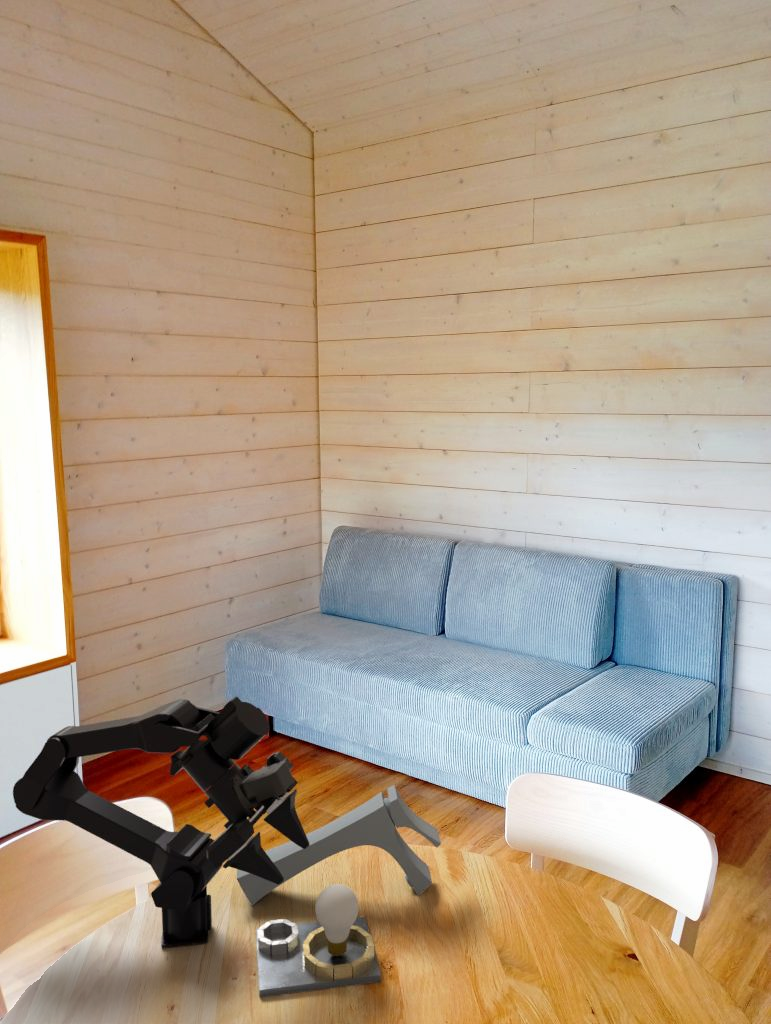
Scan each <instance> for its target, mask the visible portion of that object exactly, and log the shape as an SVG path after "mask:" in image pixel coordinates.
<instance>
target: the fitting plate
mask: <svg viewBox="0 0 771 1024" xmlns="http://www.w3.org/2000/svg"><path fill="white" fill-rule="evenodd" d="M255 942H256V943H255V944H256V945H255V946H256V960H257V961H256V962H257V976H258V978H257V979H258V993H259V994H258V995H259V998H265V997H271V996H272V997H273V996H280V995H288V994H297V993H303V992H310V991H311V992H312V991H320V990H326V989H328V990H329V989H334V988H340V987H341V988H342V987H350V986H356V985H357V986H359V985H367V984H374V983H375V984H376V983H381V982H382V981H381V979H382V974H381V971H380V968H379V964H378V959H377V957H376V952H375V944H374V941H373V937H372V935H371V934H370V930H369V927H368V922H367V919H366V916H364V915H363V916H357V918H356V920H355V922H354V923H353V924H352V926H351V928H350V931H349V935H348V937H347V950H346V952H345V953H344V954H342V955H340V956H338V957H336V956H333V955H331V954H330V953H329V952H328V946H327V937H326V935H325V931H324V928H323V927H322V925H321V924H320V923H319V921H313V922H312V921H311V922H303V923H295V922H292V921H290V920H289V919H285V918H281V919H271V920H269V921H266V922H265V923H263V924H262V925H261V926H260V927H258V928H255Z"/></svg>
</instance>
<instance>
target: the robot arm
mask: <svg viewBox="0 0 771 1024" xmlns="http://www.w3.org/2000/svg"><path fill="white" fill-rule="evenodd" d="M269 731H270V724H269V720H268V718H267V715H266V714H265V712H263V710H262V709H261V708H260V707H257V706H255V705H254V704H252V703H250V702H247V701H242V700H241V699H240V698H239V697H238V696H236V695H235V696H234V697H233V698H231V699H230V700H229V701H228V702H227V703H225V705H224V706H223V708H222V709H221V711H216V710H211V709H208V708H204V707H199V706H196V705H195V704H193V703H192V702H191V701H190V700H188V699H184V698H183V699H181V698H179V699H176V700H174V701H171V702H168V703H165V704H163V705H160V706H158V707H157V708H154V709H152V710H150V711H148V712H145V713H143V714H140V715H136V716H131V717H125V718H119V719H113V720H107V721H101V722H94V723H89V724H83V725H77V726H76V725H68V726H66V727H63V728H62V729H61V730H59V731H58V732H57V731H56V732H55V733H54V734H52V735H50V736H49V738H47V740H46V742H45V743H44V745H43V747H42V749H41V751H40V752H39V754H38V755H37V756H36V757H35V759H34V760H33V762H32V763H31V765H30V766H29V767H28V768H27V770H25V772H24V774H23V776H22V777H20V778H19V779H18V780H17V781H16V782H15V783H14V786H13V787H12V797H13V801H14V804H15V808H16V809H17V810H18V811H19V812H20V813H21V814H24V815H25V816H29V817H32V818H35V819H37V820H41V821H61V822H62V821H63V822H69V823H70V824H72V825H74V826H76V827H78V828H79V829H82V830H84V831H85V832H88V833H89V834H91V835H94V836H96V837H97V838H98V839H99V838H100V839H101V840H103V841H105V842H107V843H108V844H111V845H113V847H116V848H118V849H121V850H122V851H124V852H126V853H128V854H129V855H131V856H133V857H136V858H137V859H139V860H141V861H143V862H145V863H146V864H148V865H149V866H150V867H151V868H152V870H153V873H154V874H155V876H156V877H157V879H158V881H159V882H160V883H159V884H158V885H157V886H156V887H155V888H154V889H153V890H152V892H151V893H150V896H151V898H152V901H153V903H154V905H155V907H156V908H160V909H161V922H162V923H161V925H162V926H161V927H162V935H161V942H160V944H161V947H162V948H163V949H164V948H165V949H166V948H172V947H173V948H174V947H180V946H181V947H182V946H188V945H189V946H190V945H197V944H198V945H201V944H206V943H208V942H209V932H211V931H212V928H213V926H212V925H213V915H212V914H213V913H212V895H211V894H209V893H208V889H207V888H208V884H209V883H210V882H211V881H212V879H213V878H214V877H215V876H216V874H218V872H219V871H220V870H221V868H222V867H223V868H224V869H228V867H229V868H232V869H236V870H237V869H238V870H242V871H245V872H248V873H250V874H253V875H256V876H258V877H261V878H263V879H265V880H268V881H270V882H273V883H275V884H280V883H281V882H283V880H284V878H283V876H282V874H281V873H280V871H279V870H278V868H277V867H276V866H275V864H274V863H273V862H272V860H271V859H270V858H269V856H268V855H267V854H266V852H265V851H266V850H264V848H263V847H262V840H261V832H260V831H258V832H257V833H256V834H255V828H254V825H255V824H256V823H257V822H258V821H259V820H260V819H261V817H262V816H264V815H265V814H267V815H266V816H265V817H264V818H263V821H264V822H266V823H267V824H268V825H269V826H270V827H272V828H273V829H275V830H276V831H277V832H279V833H280V834H282V835H283V836H284V837H286V838H287V839H289V841H292V842H294V843H295V844H296V845H298V846H300V847H301V848H303V849H306V848H307V847H308V846H309V841H308V839H307V836H306V834H307V833H306V832H305V830H304V827H303V825H302V823H301V820H300V819H299V818H300V817H299V814H298V813H297V810H296V806H295V805H296V804H295V803H296V795H297V793H298V789H297V788H295V787H296V785H297V784H298V783H299V782H298V781H297V780H296V778H294V776H293V774H292V773H291V770H292V769H293V768H294V763H293V762H292V761H290V760H289V758H288V757H286V755H285V754H283V753H282V752H281V751H279V750H278V751H276V752H274V753H271V754H270V755H269V756H267V759H266V765H263V766H262V767H261V768H260V769H257V770H254V769H253V768H252V767H251V765H247V764H246V763H245V764H244V765H243V766H242V767H240V766H239V765H238V764H237V762H236V761H237V760H240V759H242V758H243V757H244V756H245V755H246V754H248V753H249V751H250V750H252V749H253V748H254V747H255V746H256V745H257V744H258V743H259V742H260V741H261V740H262V739H263V738H264V737H266V736H267V735H268V734H269ZM204 736H205V738H207V739H205V740H204V739H201V738H202V737H204ZM184 747H185V748H186V749H184V750H180V748H184ZM125 750H141V751H143V752H146V753H148V754H172V753H173V754H172V755H171V756H170V761H171V762H170V766H169V767H170V768H169V769H170V770H169V775H170V776H172V777H174V776H176V774H178V773H179V772H181V770H182V769H183V770H184V771H185V772H186V773H187V774H188V775H189V776H190V778H192V780H193V781H194V782H195V784H196V785H197V786H198V787H199V788H200V789H201V790H202V792H203V793H204V794H205V795H206V797H208V799H206V800H205V801H204V802H203V804H204V805H205V806H206V807H207V808H208V809H210V808H211V807H212V806H215V807H216V808H217V810H219V812H220V813H221V814H222V815H223V816H224V817H225V818H226V820H227V822H226V823H224V825H223V826H224V828H225V830H224V831H222V832H221V833H220V834H219V835H218V836H217V837H216V838H215V839H213V838H211V837H212V833H210V832H209V833H208V832H204V831H201V830H200V829H198V828H197V827H195V826H194V825H192V824H189V823H185V824H184V826H183V827H182V828H181V829H179V831H170V830H169V831H168V830H167V829H164V828H162V827H160V826H158V825H157V824H155V823H153V822H151V821H148V820H147V819H145V818H143V817H141V816H139V815H137V814H135V813H133V812H132V811H129V810H127V809H125V808H123V807H121V806H119V805H117V804H116V803H114V802H111V801H110V800H108V799H106V798H104V797H102V796H101V795H98V794H96V793H94V792H92V791H90V790H89V789H87V787H86V786H85V784H84V782H83V781H82V779H81V777H80V775H79V774H78V773H77V772H75V771H76V768H77V766H78V765H79V762H80V757H88V756H93V755H99V754H106V753H112V752H113V753H114V752H118V751H125ZM235 760H236V761H235ZM294 788H295V789H294ZM293 789H294V790H293ZM291 791H292V792H291ZM290 792H291V793H290ZM254 834H255V835H254Z"/></svg>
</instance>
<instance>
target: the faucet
mask: <svg viewBox="0 0 771 1024" xmlns="http://www.w3.org/2000/svg"><path fill="white" fill-rule="evenodd" d="M386 792H387V797H385V795H384V793H383V792H382V791H380V792H378V793H377V794H376V795H374V796H373V797H371V798H370V799H368V800H367V801H366V802H364V803H361V805H359V806H356V807H355V808H354V809H352V810H350V811H348V812H347V813H345V814H343V815H342V816H339V817H338V818H336V819H335V820H333V821H331V822H329V823H327V824H325V825H323V826H321V827H319V828H317V829H315V830H312V831H310V832H308V833H305V834H306V836H307V839H308V841H309V846H308V847H307V848H306V849H303V848H301V847H300V846H298V845H296V844H295V843H294V842H292V841H291V840H289V841H288V842H284V843H282V844H280V845H277V846H274V847H271V848H270V849H267V850H264V851H265V852H266V854H267V855H268V856H269V858H270V859H271V860H272V862H273V863H274V864H275V866H276V867H277V868H278V870H279V871H280V873H281V874H282V876H283V878H284V880H283V882H281V883H280V884H275V883H273V882H270V881H268V880H265V879H263V878H261V877H258V876H256V875H253V874H250V873H248V872H245V871H242V870H238V869H236V880H237V882H238V884H239V886H240V888H241V889H242V892H243V893H244V895H245V897H246V900H248V902H249V904H250V906H253V905H255V904H256V903H257V902H258V901H260V900H261V899H262V898H263V897H265V896H266V895H268V894H269V893H270V892H272V891H273V890H276V889H277V887H279V886H281V885H282V884H284V883H285V882H287V881H289V880H291V879H292V878H294V877H296V876H298V875H299V874H301V873H302V872H304V871H305V870H307V869H309V868H311V867H313V866H315V865H317V864H318V863H321V862H322V861H323V860H326V859H327V858H328V859H329V858H330V857H332V856H334V855H336V854H338V853H341V852H344V851H346V850H350V849H352V848H353V849H354V848H356V847H362V846H369V847H370V846H372V847H377V848H380V849H381V850H384V851H385V852H386V853H388V854H389V855H390V856H391V857H392V858H393V859H394V860H395V861H396V863H397V864H398V866H400V868H401V869H402V871H403V873H404V874H405V876H404V878H405V881H406V883H407V884H408V886H410V888H413V889H414V891H415V893H416V896H418V897H419V896H421V894H422V893H423V892H425V891H426V889H428V888H429V887H430V886H431V885H432V884H433V880H432V876H431V872H430V868H429V865H428V864H427V863H426V862H425V861H423V860H422V858H421V857H420V856H419V855H417V854H416V852H415V851H413V850H412V848H411V847H410V846H409V845H408V844H407V842H406V841H405V840H404V838H403V837H402V835H400V833H399V831H398V830H397V829H398V828H408V829H411V830H413V831H414V832H417V834H419V835H421V836H422V837H423V838H425V839H426V840H427V841H429V842H430V843H431V844H432V845H433V846H434V847H435V848H438V847H440V846H441V845H442V842H441V838H440V835H439V832H438V828H437V827H435V826H433V825H432V824H430V823H429V822H428V821H426V820H425V819H423V818H421V817H420V816H419V815H418V814H416V812H414V811H413V810H412V809H411V808H410V806H408V804H407V803H406V801H404V799H403V798H402V796H401V794H400V792H399V790H398V789H397V787H396V785H395V784H393V785H391V786H389V787H387V788H386Z"/></svg>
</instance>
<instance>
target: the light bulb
mask: <svg viewBox="0 0 771 1024" xmlns="http://www.w3.org/2000/svg"><path fill="white" fill-rule="evenodd" d="M354 892H355V891H353V890H352V889H351V888H350V887H348V886H346V885H345V884H341V883H334V884H331V885H328V886H326V887H325V888H324V889H322V890H321V892H320V893H319V894H318V896H317V899H316V901H315V905H314V906H315V909H314V910H315V915H316V919H317V922H319V923H320V924H321V925H322V927H323V928H324V931H325V935H326V937H327V946H328V952H329V953H330V954H331V955H333V956H336V957H338V956H340V955H342V954H344V953H345V952H346V950H347V937H348V935H349V931H350V928H351V926H352V924H353V923H354V922H355V920H356V918H357V917H358V914H359V908H360V905H359V901H358V898H357V894H356V893H354Z"/></svg>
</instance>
